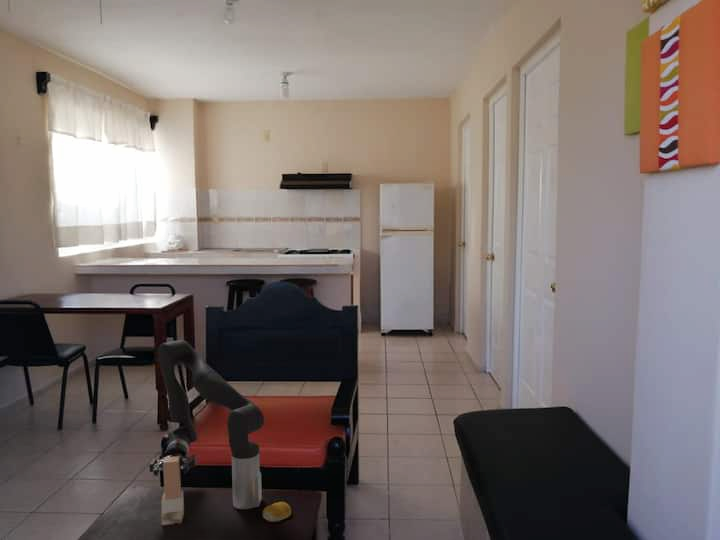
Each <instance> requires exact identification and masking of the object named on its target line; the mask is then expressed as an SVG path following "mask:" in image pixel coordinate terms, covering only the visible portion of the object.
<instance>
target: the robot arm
mask: <svg viewBox="0 0 720 540" xmlns="http://www.w3.org/2000/svg"><path fill="white" fill-rule="evenodd" d="M157 353H158V354H157V355H158V362H159V367H160V371H161V375H162V378H163V381H164V386H165V388H166V393H167V397H168V398H167V399H168V407H169V416H170V421H171V422H173V423H180V424H183V425H184V426H183V427H175V428H172V429H170V430H169V432H168V433H167V438H168V437H169V443H168V446H167V447H166V450H165V452H164V455H163V457H162V458H160V459H157V457H152V459H151V461H150V463H149V465H148V466H149V472H150V473H153V476H155V477H158V476H159V474H160V472H161V471H163V462H164V459H165V457H175V456H179V457H180V470H181V469H182V473H183V474H184V475H185V474H186V473H188V472H189V470H190V468H191V469H196V462H197V461H196V458H197V457H196V454H194V453H193V454H191V456H189V451H190V443H191V442H194V441H196V440H197V441H198V433H197V430H196V428H195V425H194V424H193V423H194V422H193V420H192V417H191V411H190V402H189V396H188V394H187V391H185V389H184V388H183V385H182V384H181V383H180V382H179V380H178V378H177V376H176V374H175V367H176V366H180V365H181V366H182V365H183V366H186V367H187V369H189V370H190V372H191V375H192V376H191V377H192V386H193V387H194V389H195V391H197V393H198V394H199V395H201V396H202V397H203V398H204V399H205V400H207V401H208V402H210V403H212V404H215V405H217V406H221V407H224V408H226V409H228V410H231V411H230V412H229V414H228V417H227V433H228V436H227V437H228V443H229V444H228V445H229V449H230V452H231V475H232V478H231V479H232V483H231V484H232V505H233V507H234V508H235V509H239V510H248V509H254V508H258V507H260V505H261V502H262V498H263V496H262V494H263V493H262V491H263V490H262V472H261V471H260V470H261V469H260V466H261V465H260V463H261V462H260V446H259V444H258V443H257V442H255V441H253V440H249V435H250V434H253V433H255V432H257V431H259V430H260V429H261V428H263V427H264V425H265V417H264V414H263V412H262V410H261V409H260V408H259V406H257V405H256V404H255V403H254V402H253V401H251V400H250V399H248V398H246V397H245V396H244V395H242V394H241V393H240V392H239V391H237V389H235V388H234V386H232V385H231V384H229V382H227V381H226V380H225V379H224V378H223V377H222V376H221V375H220V374H219V373H217V371H216V370H214V369H213V368H212V367H211V366H210V365H209V364H208V363H207V362H206V361H205V360H204V359H203V358H202V357H201V356H200V355H199V354H198V352H197V351H196V350H195V349H194V348H193V346H192V345H191V344H190V343H189V342H187V341H186V340H184V339H179V340H172V341H168V342H163V343H161V344H160V346H159V347H158V351H157ZM197 441H196V442H197Z"/></svg>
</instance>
